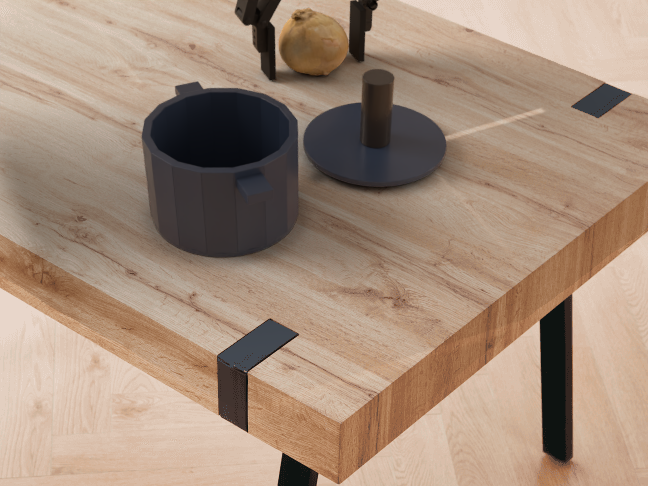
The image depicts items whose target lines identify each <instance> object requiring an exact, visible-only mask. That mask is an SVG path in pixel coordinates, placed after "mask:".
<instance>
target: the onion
mask: <svg viewBox="0 0 648 486" xmlns="http://www.w3.org/2000/svg"><path fill="white" fill-rule="evenodd" d="M277 45H278V46H277V47H278V53H279V55H280V57H281V60H282V61H283V62H284V63H285V65H286V66H287V67H288V68H289V69H291V70H293V71H294V72H296V73H301V74H308V75H310V76H328V75H330V73H332V71H334V70H336V69H337V68H338V67H340V66H341V64H342V63H343V62H344V60H345V59H346V57H347V55H348V53H349V37H348V35H347V32H346V30H345V29H344V27H343V26H342V25H341V24H340V22H339V21H337V20H336V19H335V18H334V17H332V16H330V15H327V14H325V13H323V12H319V11H315V10H313V9H311V8H310V7H305V8H302V9H300V8H297V9H295V10H294V11H293V12H292V14H291V16H290V18H289V19H288V20H287V21H286V22H285V23H284V25H283V27H282V29H281V32H280V34H279V37H278V44H277Z"/></svg>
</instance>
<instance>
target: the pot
mask: <svg viewBox="0 0 648 486" xmlns="http://www.w3.org/2000/svg"><path fill="white" fill-rule="evenodd" d="M174 91H175V96H173V97H171V98H169V99H166V100H165V101H163V102H161V103H159V104H158V105H157V106H155V107H154V109H153V110H152V111H151V112H150V113H149V114H148V115H147V116H146V117H145V118H144V120H143V125H142V130H141V144H142V145H141V146H142V153H143V154H142V155H143V162H144V168H145V169H144V170H145V171H144V172H145V178H146V187H147V195H148V203H149V211H150V217H151V219H152V222H153V223H152V224H153V226H154V228H155V229H156V231H157V233H158V235H160V236H161V237H162V239H163V240H165V241H166V242H168V244H170V245H172V246H174V247H176V248H177V249H179V250H181V251H184V252H187V253H191V254H194V255H197V256H198V255H199V256H203V257H210V258H234V257H241V256H246V255H250V254H251V255H252V254H255V253H258V252H261V251H264V250H266V249H268V248H270V247H272V246H274V245H275V244H277V243H279V242H280V241H282V240H283V239H284V238H285V237H286V236H287V235H289V234H290V232H291V231H292V230H293V228H294V227H295V225H296V223H297V220H298V217H299V120H298V118H296V116H295V114H294V113H293V112H292V111H291V110H290V108H289V107H288V106H287V105H286V104H285V103H283V102H281V101H279V100H277V99H276V98H273V97H272V96H270V95H268V94H266V93H262V92H258V91H253V90H250V89H245V88H240V87H207V88H203V86H202V85H201V83H200V82H199V81H198V80H197V81H192V82H187V83H182V84H178V85H177V84H176V85H174Z"/></svg>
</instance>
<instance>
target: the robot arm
mask: <svg viewBox="0 0 648 486" xmlns="http://www.w3.org/2000/svg"><path fill="white" fill-rule="evenodd" d="M281 1H282V0H236V4H235V8H234V15H235V16H236V17H237V18H238V19H239V21H240V22H241V23H242V25H243V26H245V27H248V26H251V35H252V39H251V40H252V45H253V48H254V49H255V50H256V51H257V52H258V54H260V71H262V73H263V74H264V75H265V77H266V78H267V79H268V81H275V80H277V63H276V60H277V57H276V56H277V55H276V27H275V26H274V24H272V22H271V20H272V18H273V16H274V14H275V12H276V11H277V9H278V7H279V4H280V3H281ZM379 1H380V0H349V27H348V44H349V48H348V53H349V54H350V55H351V56H352V57H353V58H354V59H355V60H356V62H357V63H361V62H362V63H363V62H365V52H366V51H365V49H366V33H367V32H371V30H372V27H373V13H374V11H376V10H377V9H378V7H379V4H378V2H379Z"/></svg>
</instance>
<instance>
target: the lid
mask: <svg viewBox="0 0 648 486" xmlns="http://www.w3.org/2000/svg"><path fill="white" fill-rule="evenodd" d="M361 78H362V79H361V99H360V100H361V102H353V103H347V104H343V105H337V106H335V107H333V108H330V109H327V110H325V111H323V112H322V113H320V114H318V115H317V116H316V117H314V118H313V119H312V120H311V121H310V122H309V123H308V124H307V126H306V128H305V130H304V133H303V135H302V136H303V139H302V146H303V151H304V153H305V156H306V158H307V159H308V161H309V162H310V163H311V164H312V165H313V166H314V167H315V168H317V170H319V171H320V172H322V173H324V174H325V175H327V176H329V177H331V178H333V179H336V180H338V181H341V182H344V183H348V184H351V185H356V186H363V187H373V188H374V187H375V188H376V187H377V188H381V187H382V188H386V187H395V186H402V185H407V184H410V183H415V182H416V181H419V180H421V179H424V178H426V177H427V176H429V175H431V174H432V173H433V172H435V171H436V170H437V169H438V168H439V167H440V166H441V164H442V163H443V161H444V159H445V157H446V153H447V147H448V146H447V145H448V144H447V139H446V135H445V133H444V132H443V130H442V129H441V127H440V126H439V125H438V124H437V123H436V122H435V121H434V120H432V119H431V118H430V117H428V116H427V115H425V114H424V113H421V112H419V111H417V110H415V109H412V108H410V107H406V106H403V105H398V104H395V103H394V91H395V75H394V74H393V73H392V72H390V71H389V70H386V69H383V68H373V69H372V68H371V69H368V70H366V71H365V72H364V73H363V74H362V77H361Z"/></svg>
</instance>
